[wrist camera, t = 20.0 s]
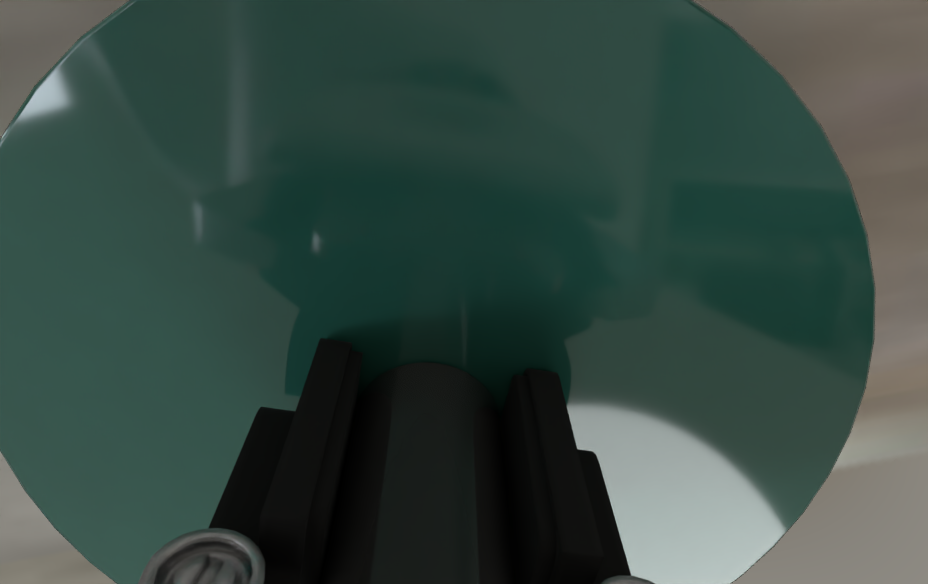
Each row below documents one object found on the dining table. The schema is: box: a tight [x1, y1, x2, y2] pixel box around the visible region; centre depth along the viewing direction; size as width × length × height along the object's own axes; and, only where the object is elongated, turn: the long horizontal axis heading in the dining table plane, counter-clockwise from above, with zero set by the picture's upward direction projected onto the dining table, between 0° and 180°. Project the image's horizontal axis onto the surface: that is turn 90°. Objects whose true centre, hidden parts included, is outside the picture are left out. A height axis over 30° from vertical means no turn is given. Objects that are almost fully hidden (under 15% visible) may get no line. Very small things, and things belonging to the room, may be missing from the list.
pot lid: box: [0, 0, 875, 584], centre depth 10 cm, size 16×16×6 cm
